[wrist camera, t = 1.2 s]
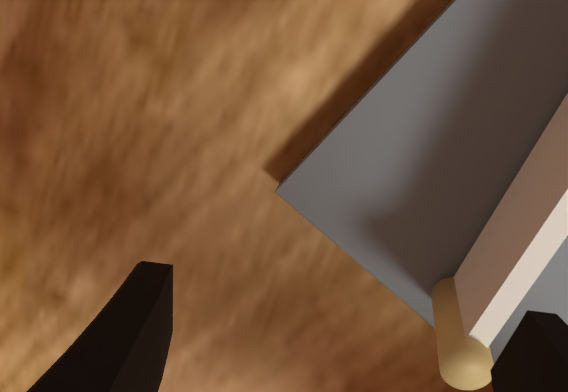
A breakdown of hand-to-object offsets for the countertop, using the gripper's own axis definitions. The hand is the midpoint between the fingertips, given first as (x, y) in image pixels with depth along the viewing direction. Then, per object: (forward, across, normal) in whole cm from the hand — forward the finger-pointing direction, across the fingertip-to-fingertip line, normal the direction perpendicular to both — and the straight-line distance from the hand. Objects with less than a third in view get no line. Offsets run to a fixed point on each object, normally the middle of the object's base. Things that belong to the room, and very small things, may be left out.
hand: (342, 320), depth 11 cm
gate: (+9, -8, +1) cm, 12 cm away
